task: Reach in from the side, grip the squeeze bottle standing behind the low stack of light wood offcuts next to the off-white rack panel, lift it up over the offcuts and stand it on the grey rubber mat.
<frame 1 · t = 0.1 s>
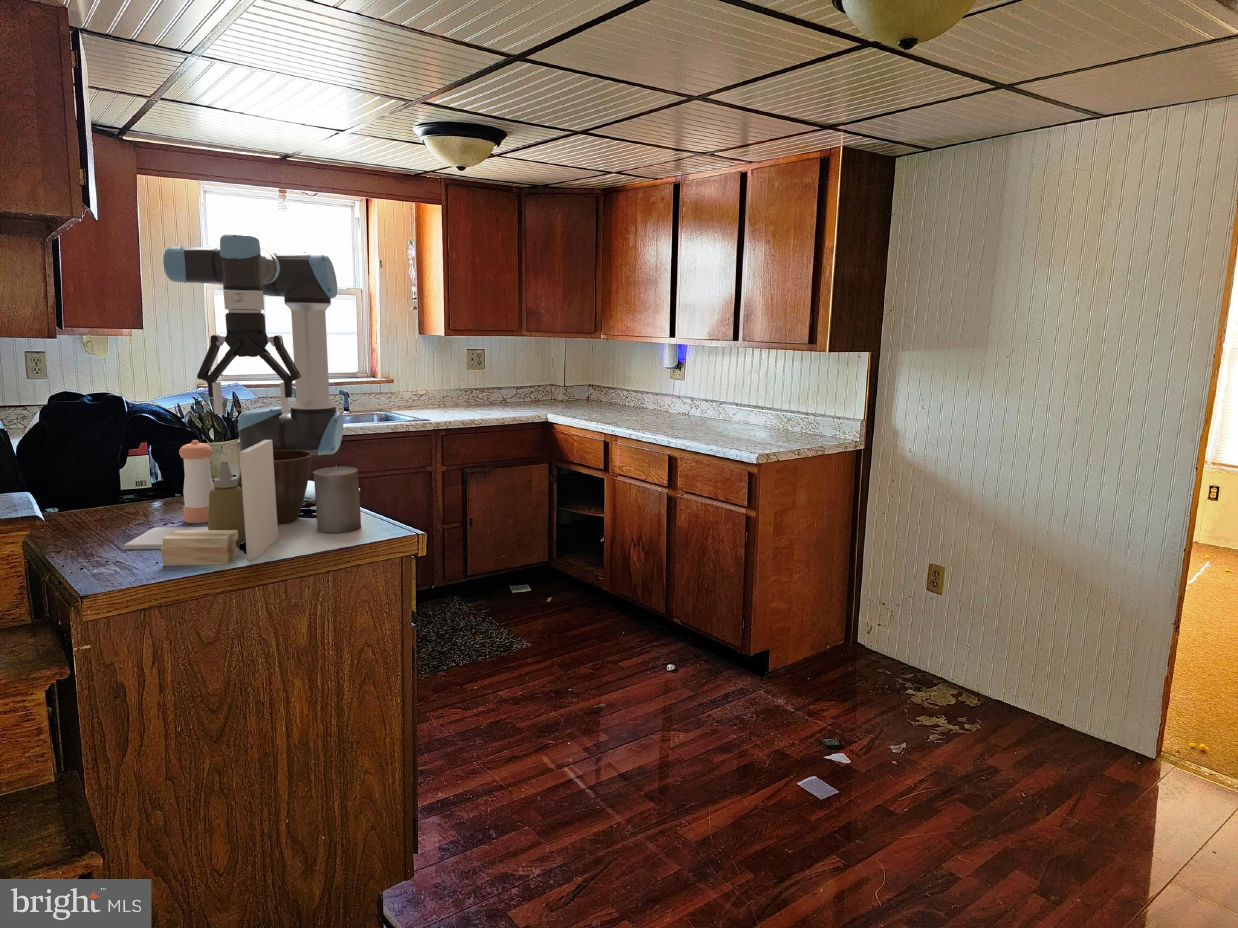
hand: (252, 413, 173), 28 cm above the countertop, tool pointing down, fingers open, 13 cm apart
pepper shaker: (201, 520, 195), on the countertop
squeeze bottle: (230, 544, 175), on the countertop
pillar candle: (338, 529, 189), on the countertop
plant pot: (281, 521, 195), on the countertop
grey mat: (174, 539, 177), on the countertop
offcut stack: (201, 560, 163), on the countertop
rack panel: (263, 548, 172), on the countertop
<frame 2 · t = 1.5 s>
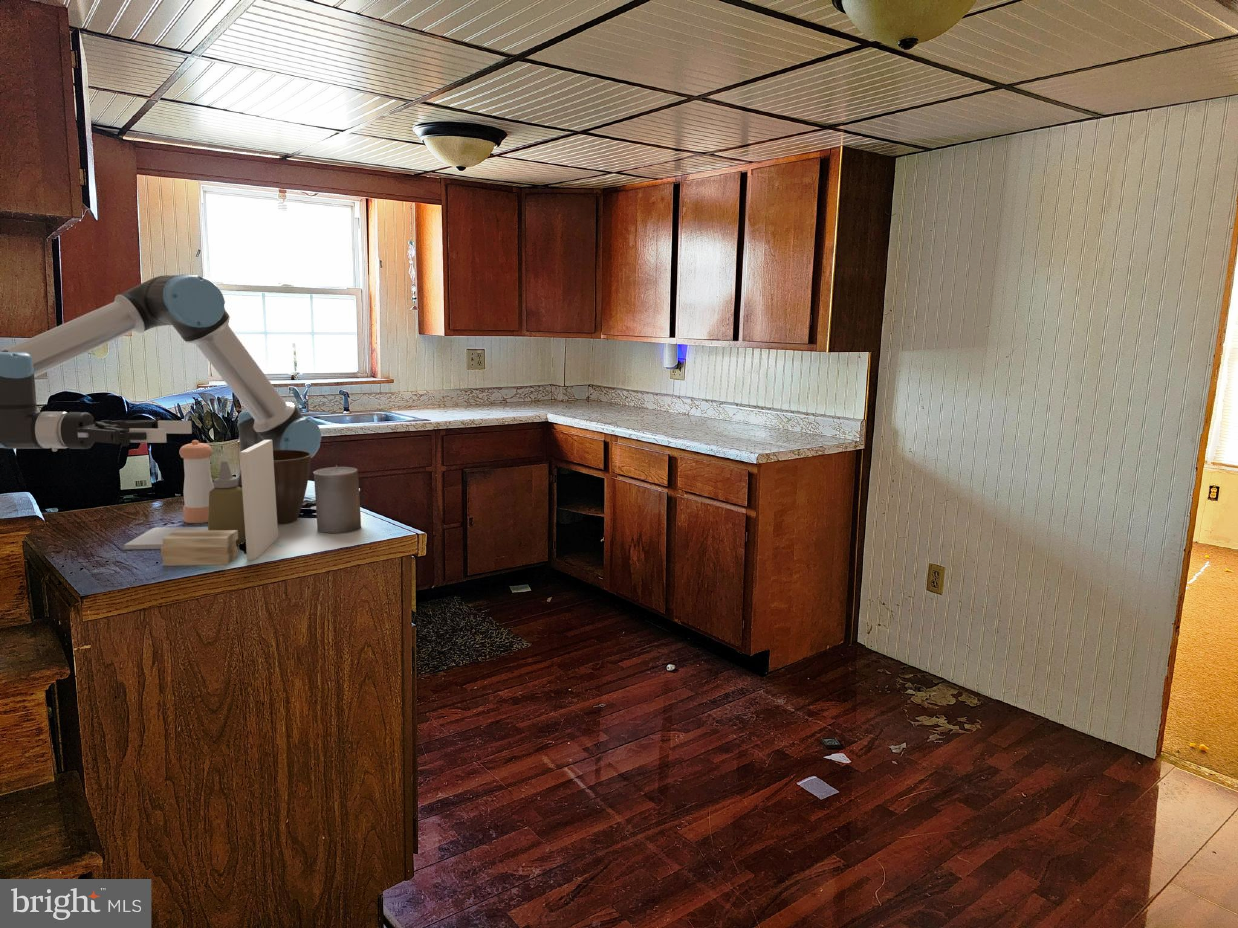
hand: (178, 431, 169), 24 cm above the countertop, tool horizontal, fingers open, 13 cm apart
nothing on the countertop moved.
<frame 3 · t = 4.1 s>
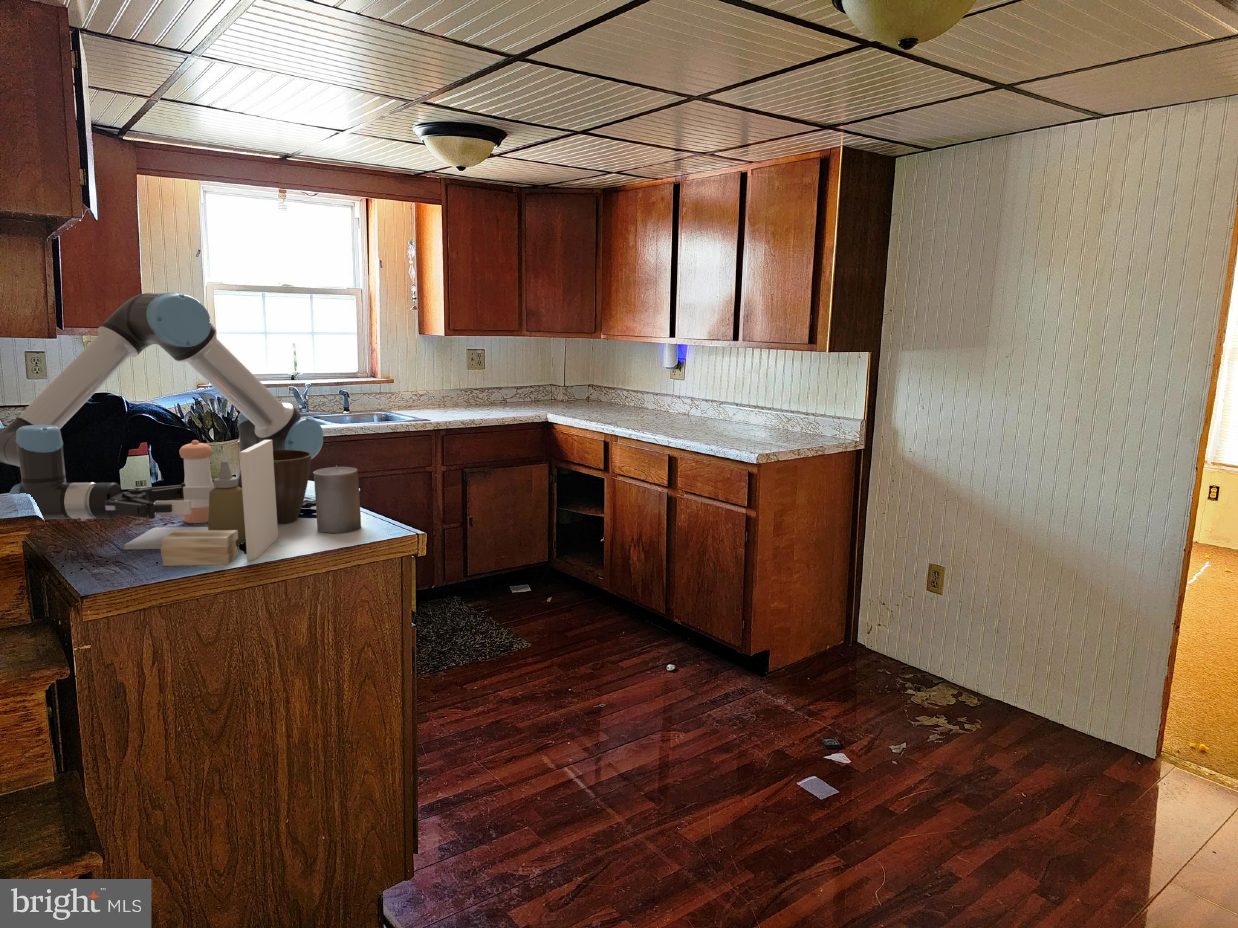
hand: (203, 499, 172), 10 cm above the countertop, tool horizontal, fingers open, 13 cm apart
nothing on the countertop moved.
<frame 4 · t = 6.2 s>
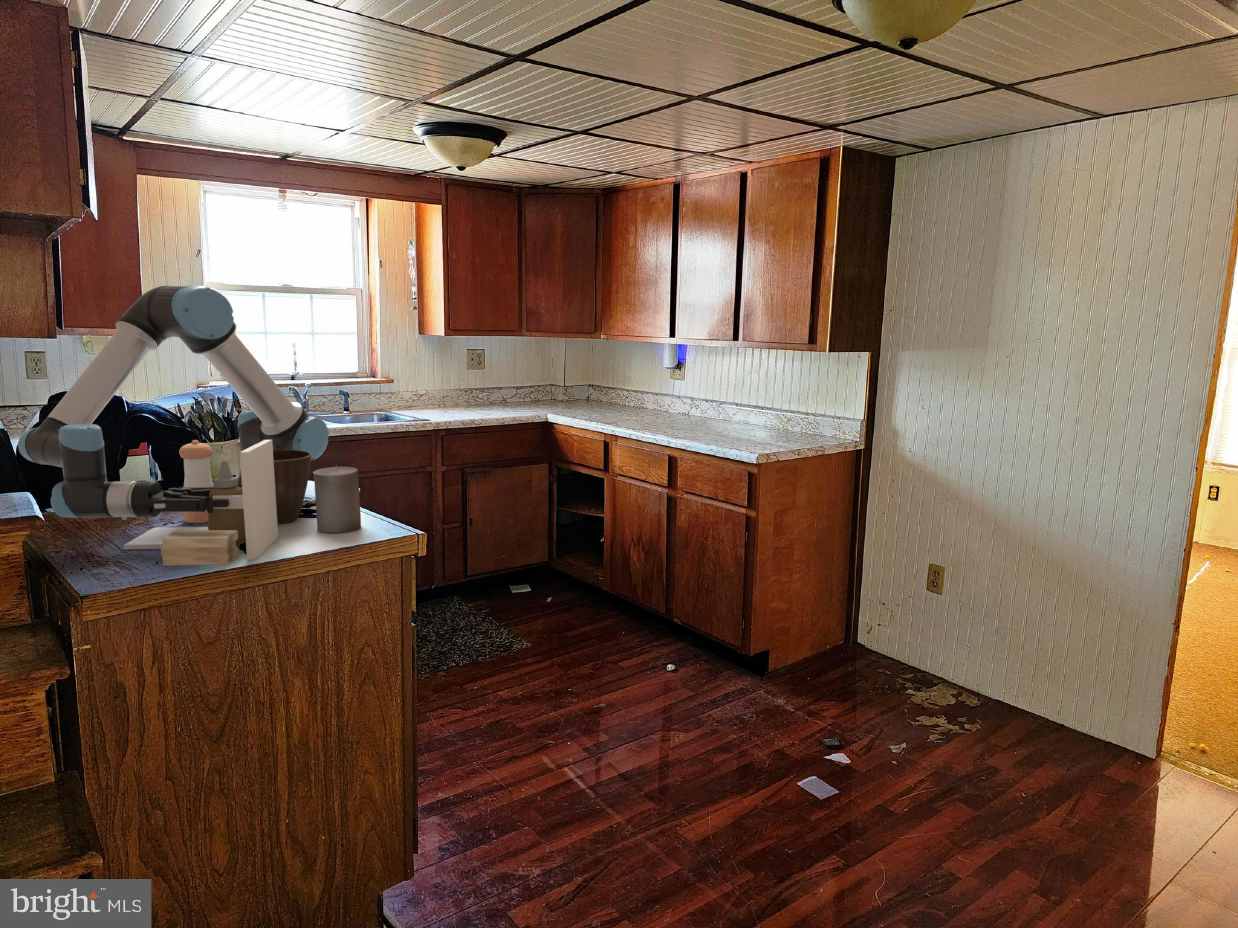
hand: (251, 498, 173), 10 cm above the countertop, tool horizontal, fingers closed on squeeze bottle, 6 cm apart
squeeze bottle: (230, 544, 175), on the countertop, touching gripper
everything else where it was.
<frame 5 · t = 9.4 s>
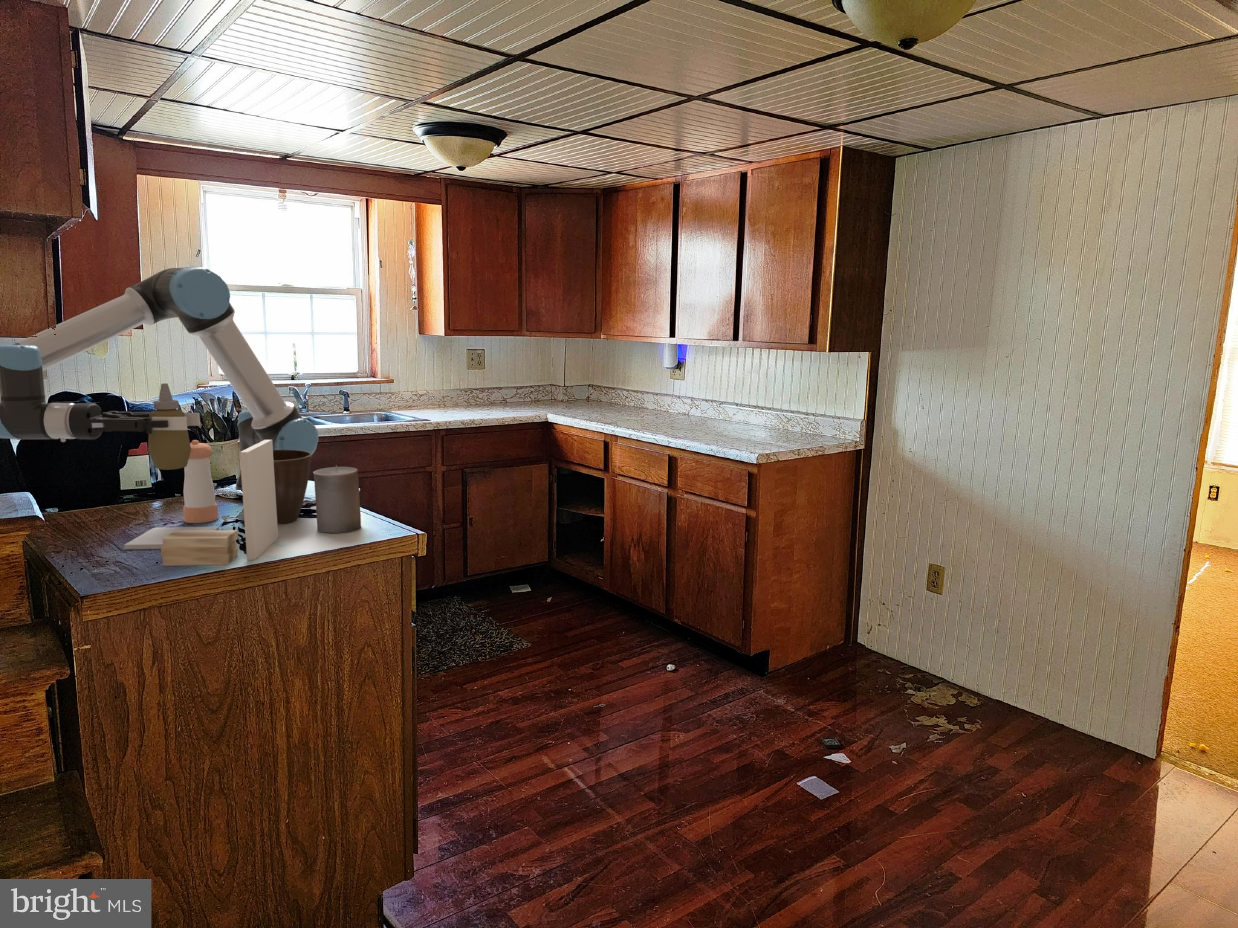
hand: (192, 421, 173), 26 cm above the countertop, tool horizontal, fingers closed on squeeze bottle, 6 cm apart
squeeze bottle: (171, 468, 174), point 16 cm above the countertop, touching gripper
everything else where it was.
when the fingers open (12 cm above the countertop, at t = 12.4 s): squeeze bottle drops 1 cm, resting on grey mat.
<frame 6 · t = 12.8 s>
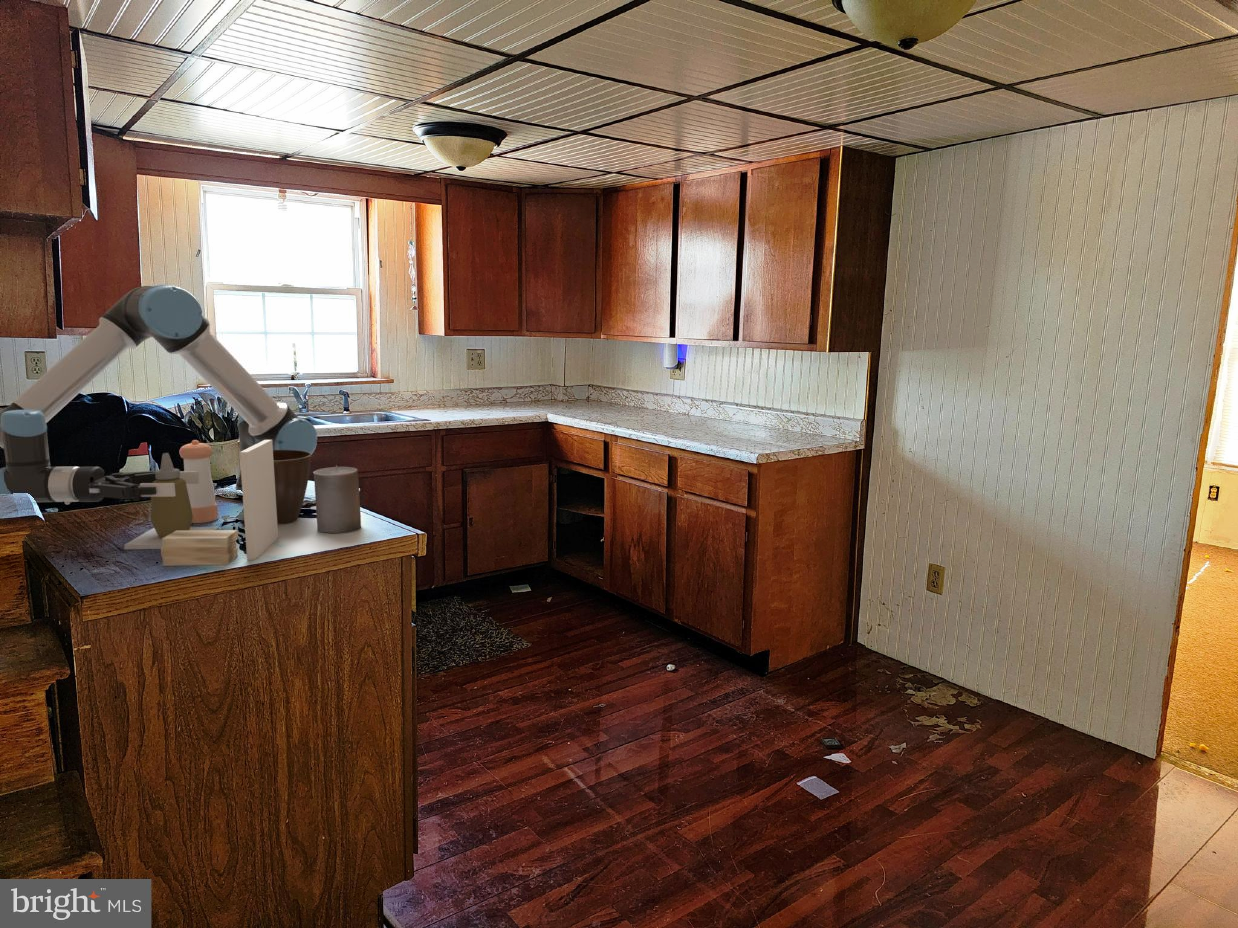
hand: (187, 483, 175), 12 cm above the countertop, tool horizontal, fingers open, 12 cm apart
squeeze bottle: (173, 535, 177), point 1 cm above the countertop, touching grey mat
everything else where it was.
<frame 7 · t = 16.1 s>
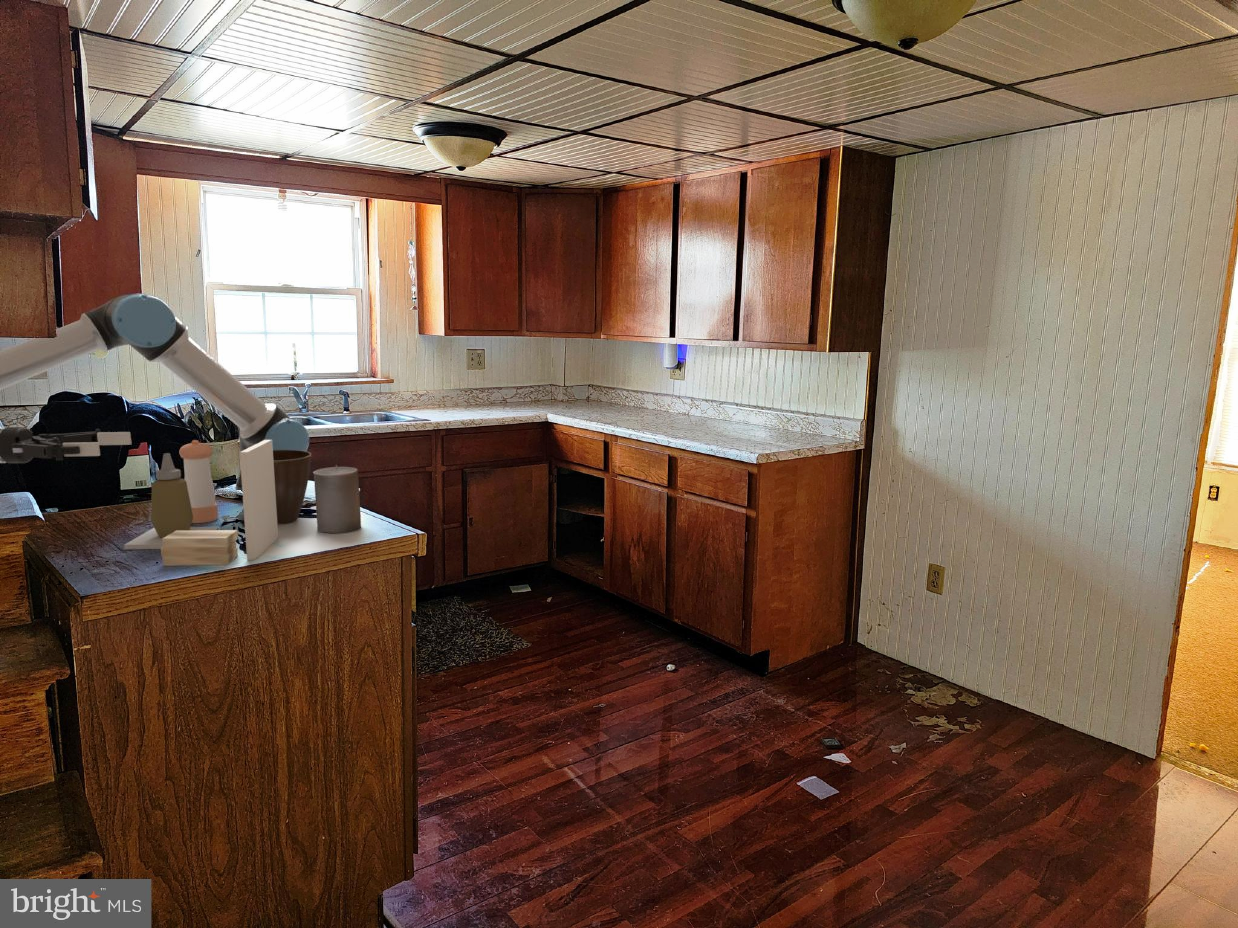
hand: (115, 443, 172), 21 cm above the countertop, tool horizontal, fingers open, 13 cm apart
nothing on the countertop moved.
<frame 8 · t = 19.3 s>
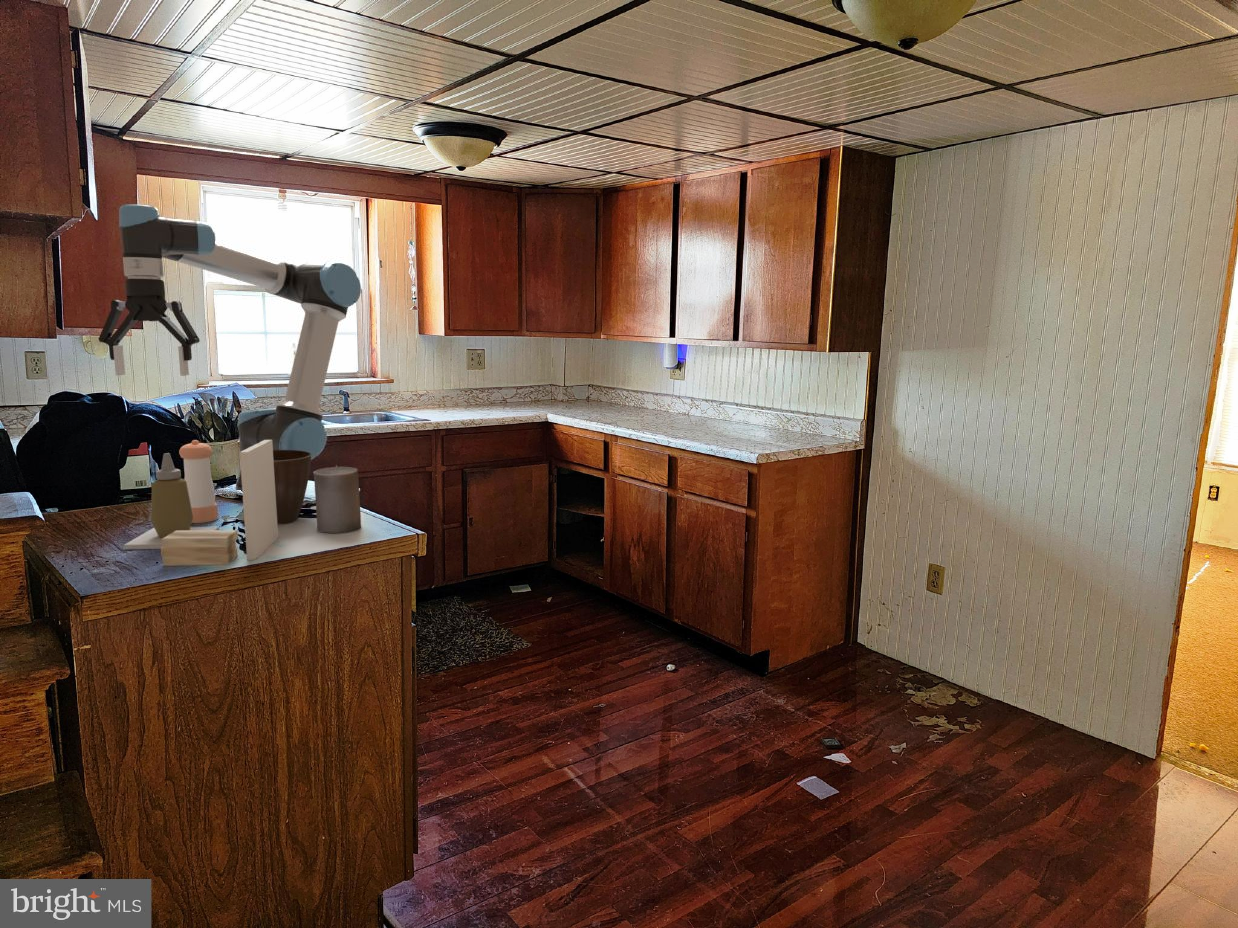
hand: (152, 375, 183), 35 cm above the countertop, tool pointing down, fingers open, 13 cm apart
nothing on the countertop moved.
at the end: squeeze bottle inside the target area on the grey mat (0.1 cm from its centre), point 0.8 cm above the grey mat's base; squeeze bottle tilted 0°; the gripper is holding nothing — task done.
